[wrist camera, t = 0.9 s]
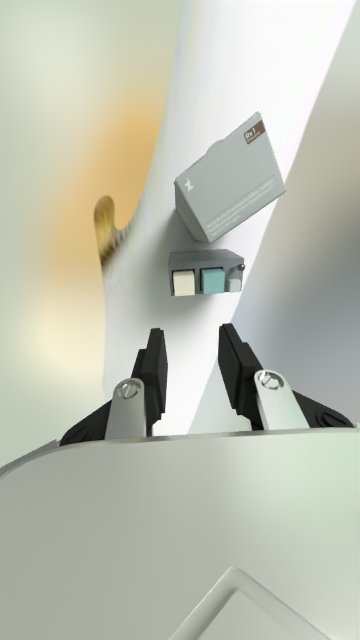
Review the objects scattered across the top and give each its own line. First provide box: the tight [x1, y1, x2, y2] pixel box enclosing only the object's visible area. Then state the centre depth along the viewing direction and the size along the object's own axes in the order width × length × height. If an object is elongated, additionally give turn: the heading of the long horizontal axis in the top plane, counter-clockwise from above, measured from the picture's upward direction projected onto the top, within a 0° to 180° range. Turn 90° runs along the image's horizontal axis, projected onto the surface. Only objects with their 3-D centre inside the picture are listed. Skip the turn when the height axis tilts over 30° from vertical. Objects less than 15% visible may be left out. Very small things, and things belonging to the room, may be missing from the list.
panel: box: [168, 249, 244, 296], centre depth 30 cm, size 4×10×10 cm, turn 94°
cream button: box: [173, 270, 195, 296], centre depth 25 cm, size 3×3×3 cm
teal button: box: [201, 268, 225, 294], centre depth 25 cm, size 3×3×3 cm
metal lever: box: [232, 263, 245, 271], centre depth 23 cm, size 1×1×4 cm
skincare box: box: [174, 111, 286, 243], centre depth 23 cm, size 8×7×16 cm
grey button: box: [227, 279, 241, 292], centre depth 25 cm, size 1×1×1 cm
